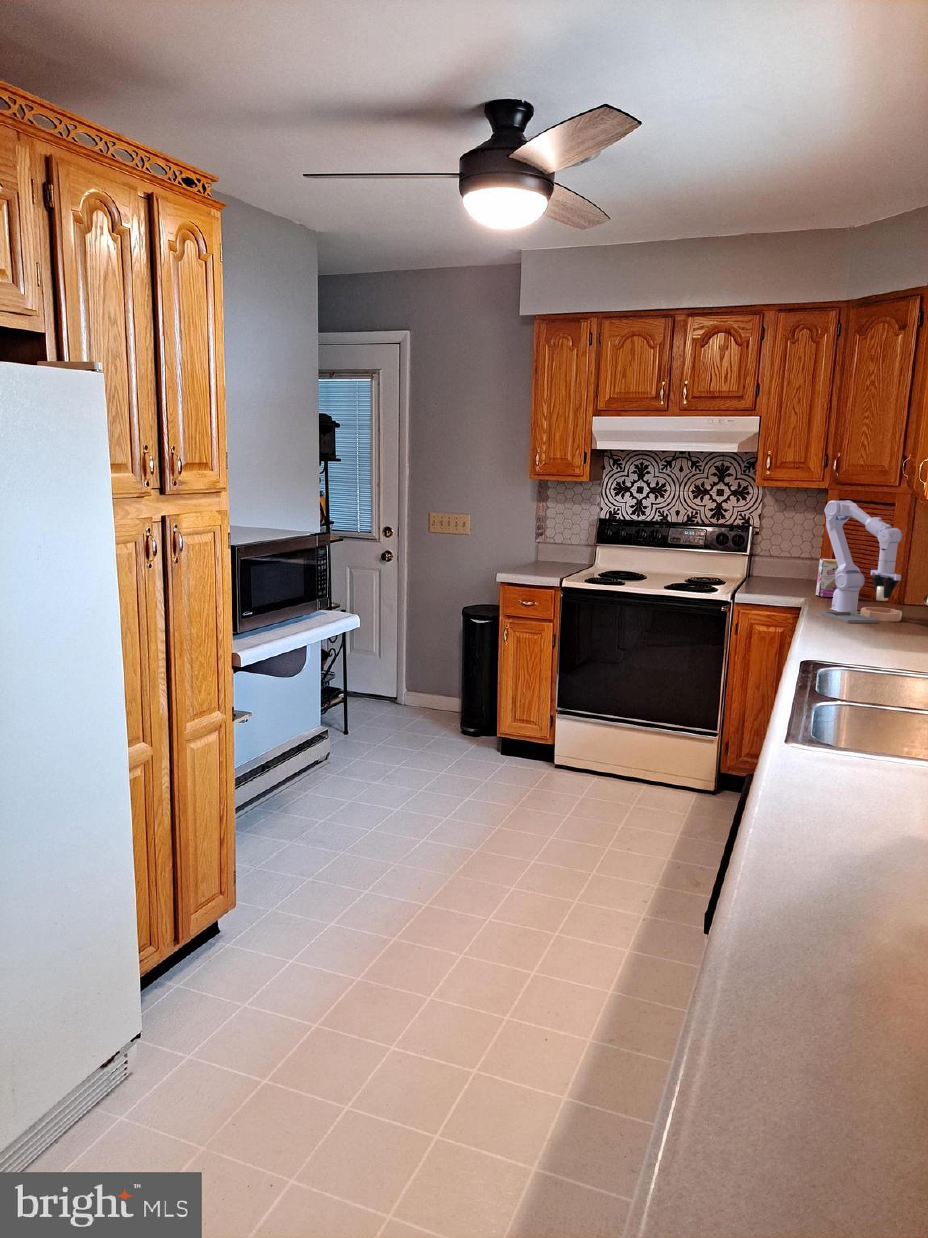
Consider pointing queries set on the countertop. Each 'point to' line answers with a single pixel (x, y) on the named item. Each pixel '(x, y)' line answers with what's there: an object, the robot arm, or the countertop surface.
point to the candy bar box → (826, 578)
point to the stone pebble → (880, 594)
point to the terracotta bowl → (882, 613)
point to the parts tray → (849, 617)
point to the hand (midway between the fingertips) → (882, 596)
